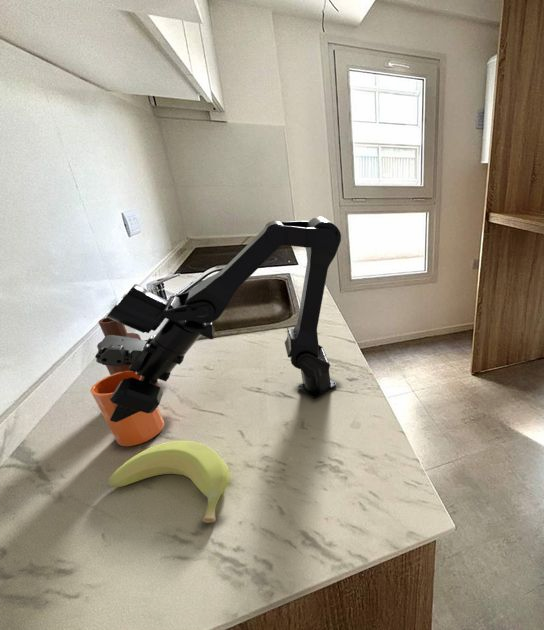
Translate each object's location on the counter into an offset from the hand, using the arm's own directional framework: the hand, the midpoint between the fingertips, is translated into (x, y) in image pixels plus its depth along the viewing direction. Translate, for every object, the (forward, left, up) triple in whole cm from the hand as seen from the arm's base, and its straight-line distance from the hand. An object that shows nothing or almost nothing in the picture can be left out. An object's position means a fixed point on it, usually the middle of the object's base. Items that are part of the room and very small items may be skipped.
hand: (119, 407), depth 62 cm
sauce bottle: (+13, -6, -7) cm, 16 cm away
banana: (-21, 0, -7) cm, 22 cm away
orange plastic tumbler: (-1, -1, -7) cm, 7 cm away
